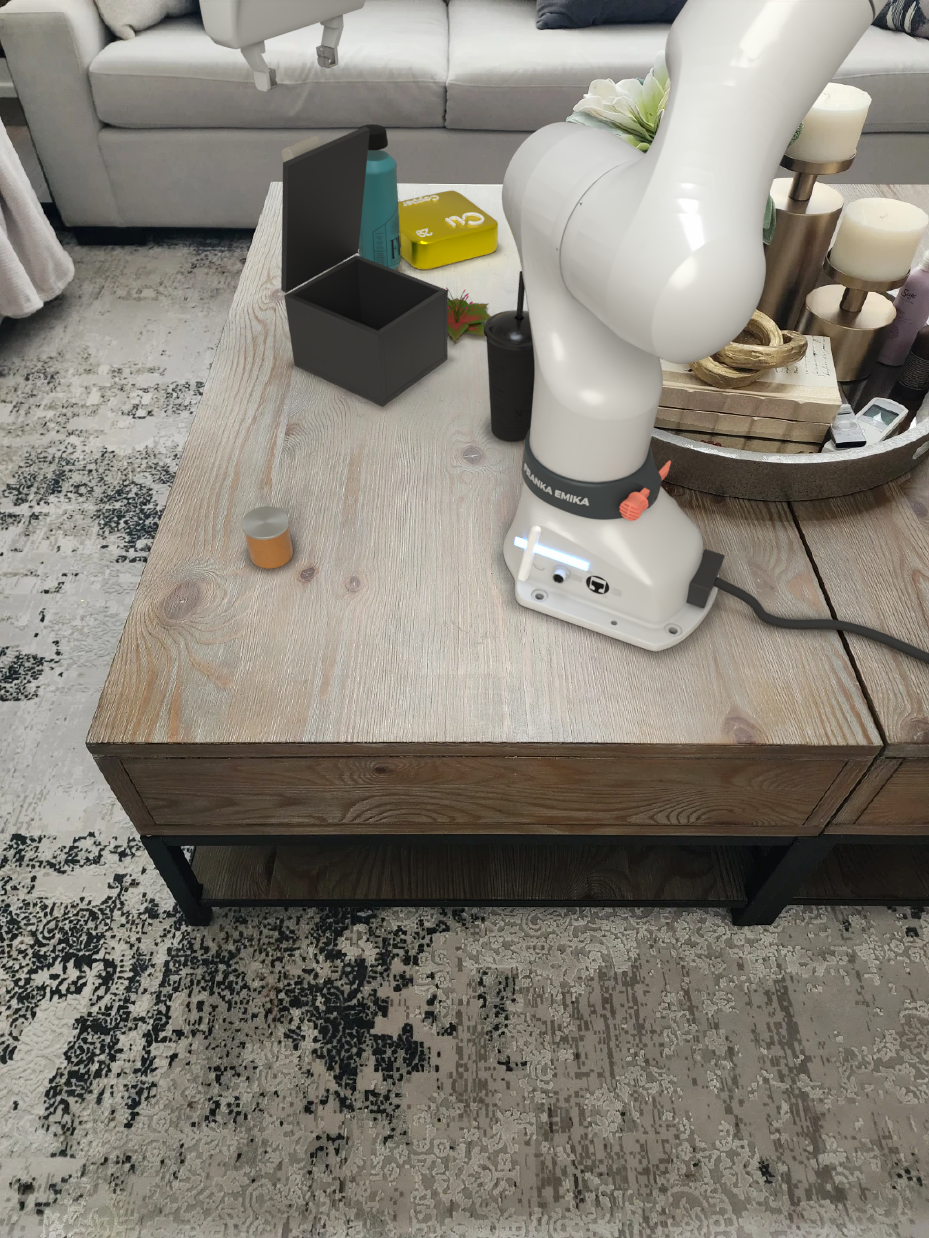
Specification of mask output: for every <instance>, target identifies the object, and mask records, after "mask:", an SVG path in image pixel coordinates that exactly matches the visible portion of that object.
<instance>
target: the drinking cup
mask: <svg viewBox="0 0 929 1238" xmlns="http://www.w3.org/2000/svg"><path fill="white" fill-rule="evenodd" d="M518 275H519V276H518V287H517V288H518V289H517V302H516V303H517V304H516V310H515V309H513V310H505V311H501V312H497V313H495V314H493V315H490V316H491V317H490V318H489V319H488V320H487V321H484V322H485V323H484V324H483V325H484V334H485V336H484V337H485V338H486V354H487V371H488V372H487V374H488V390H489V391H488V392H489V409H490V426H491V427H490V428H491V429H490V430H491V433H492V434H493V436H494V437H495V438H497V439H499V440H500V441H504V442H507V443H510V442H511V443H515V442H516V443H517V442H521V441H525V438H526V435H527V432H528V431H529V429H530V428H531V417H532V404H533V391H534V377H535V362H534V350H533V341H532V334H531V327H530V320H529V313H528V310H524V304H525V287H524V280H523V274H522V270H520V271H519V273H518Z"/></svg>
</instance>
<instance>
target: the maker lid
mask: <svg viewBox="0 0 929 1238" xmlns="http://www.w3.org/2000/svg"><path fill="white" fill-rule="evenodd" d="M359 128H360V127H359ZM359 128H358V129H356V130H354V131H351V132H350V133H347V134H344V135H342V136H340V137H337V138H335V139H332V140H331V141H329V142H326V143H323V141H322V139H321V138H320V137H319V136H318V135H312V136H310V137H308V138H305V139H303V140H301V141H298V142H296V143H294V144H292V145H289V146H287V147H285V148H283V149H282V151H281V157H282V160H283V162H282V201H281V202H282V204H281V205H282V206H281V212H282V213H281V272H280V273H281V274H280V275H281V277H280V280H281V281H280V285H281V286H280V290H281V292H282V293H284V294H288V293H290V292H291V291H293V290H295V289H297V288H298V287H300V286H302V285H304V284H306V283H307V281H309V280H310V279H312V278H314V277H316V276H318V275H319V274H321V273H323V272H325V271H326V270H328V269H330V268H332V267H334V266H335V265H337V264H339V263H341V262H342V261H343V262H345V261H346V260H348V259H350V258H352V257H354V256H355V255H357V254H358V253H359V239H360V228H361V218H362V207H363V197H364V186H365V176H366V165H367V155H368V144H369V134H370V129H368V128H367V127H363V128H360V129H359Z"/></svg>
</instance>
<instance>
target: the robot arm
mask: <svg viewBox="0 0 929 1238" xmlns="http://www.w3.org/2000/svg"><path fill="white" fill-rule="evenodd" d="M888 1H889V0H687V1H686V2H685V4H684V6H683V8H681V10H680V11H679V13H678V15H677V16H676V17H675V19H674V21H673V22H672V25H671V27H670V28H669V32H668V34H667V38H666V42H665V48H664V61H665V68H666V71H667V76H668V78H669V91H668V97H667V100H666V101H667V102H666V105H665V109H664V112H663V115H662V118H661V121H660V123H659V126H658V128H657V131H656V133H655V135H654V138H653V139H652V142H651V144H650V146H649V148H648V149H647V151H646V152H644V151H642V150H640V149H639V148H637V147H636V146H634V145H633V144H632V143H630V142H628V141H627V140H625V139H623V138H622V137H621V136H619V135H617V133H614V132H612V131H610V130H607V129H603V128H599V127H595V126H591V125H587V124H581V123H575V122H569V121H559V122H558V121H557V122H553V123H550V124H547V125H544V126H542V127H540V128H539V129H538V130H536V131H534V132H533V133H532V134H531V135H529V136H527V138H526V139H525V140H524V141H523V142H522V143H521V145H520V146H519V147H518V148H517V150H516V151H515V153H514V154H513V156H512V158H511V159H510V161H509V164H508V165H507V168H506V170H505V173H504V178H503V181H502V183H503V184H502V188H501V204H502V211H503V214H504V217H505V220H506V223H507V225H508V227H509V229H510V232H511V235H512V238H513V241H514V244H515V247H516V251H517V255H518V258H519V263H520V266H521V267H520V268H521V271H522V274H523V280H524V287H525V292H524V294H525V299H526V305H527V311H528V313H529V320H530V327H531V334H532V341H533V350H534V362H535V377H534V391H533V404H532V417H531V428H530V429H529V431H528V432H527V435H526V438H525V439H524V445H523V453H522V462H521V475H522V479H523V483H522V488H521V493H520V497H519V501H518V505H517V509H516V512H515V514H514V518H513V520H512V522H511V525H510V527H509V529H508V531H507V532H506V535H505V537H504V540H503V547H502V553H503V559H504V561H505V564H506V566H507V568H508V570H509V572H510V574H511V575H512V577H513V580H514V597H515V600H516V602H517V603H518V605H520V606H522V607H525V608H527V609H530V610H533V611H536V612H539V613H542V614H545V615H548V616H550V617H552V618H556V619H558V620H562V621H564V622H568V623H570V624H573V625H576V626H578V627H582V628H584V629H587V630H590V631H593V632H595V633H599V634H601V635H604V636H607V637H610V638H613V639H616V640H619V641H621V642H623V643H627V644H630V645H633V646H635V647H637V648H642V649H643V650H647V651H651V652H660V651H664V650H668V649H670V648H671V647H674V646H676V645H678V644H680V643H681V642H682V641H684V640H685V639H687V638H688V637H689V636H690V635H691V634H692V633H694V631H695V630H696V629H697V628H698V627H699V626H700V625H701V623H703V621H704V620H705V618H706V617H707V616H708V614H709V612H710V611H711V609H712V606H713V605H714V603H715V601H716V597H717V595H718V590H721V591H723V592H725V593H727V594H729V595H731V596H733V597H735V598H737V599H739V600H740V601H742V602H744V603H745V604H746V605H748V606H749V607H750V608H751V609H752V611H753V613H754V614H755V615H756V617H757V618H758V619H759V620H760V621H761V622H763V623H766V624H768V625H770V626H773V627H777V628H782V629H787V630H789V629H790V630H834V631H836V630H837V631H842V632H845V633H846V632H847V633H850V634H855V635H858V636H860V637H863V638H867V639H870V640H872V641H876V642H878V643H880V644H883V645H885V646H888V647H890V648H892V649H894V650H897V651H899V652H901V653H903V654H906V655H908V656H909V657H912V658H914V659H915V660H918V661H921V662H923V663H924V664H925V663H926V664H927V665H929V652H927V651H925V650H923V649H921V648H918V647H916V646H913V645H912V644H910V643H908V642H905V641H903V640H901V639H899V638H896V637H894V636H891V635H889V634H887V633H884V632H881V631H880V630H877V629H875V628H874V629H873V628H870V627H867V626H865V625H861V624H857V623H855V622H854V623H853V622H849V621H845V620H839V619H826V618H824V619H823V618H816V619H815V618H814V619H811V618H810V619H809V618H808V619H792V618H791V619H790V618H784V617H780V616H776V615H773V614H771V613H769V612H768V611H766V610H765V608H764V607H763V605H762V603H760V601H759V600H758V599H757V598H756V597H754V596H753V595H752V594H751V593H749V592H747V591H746V590H745V589H743V588H741V587H739V586H736V585H735V584H732V583H730V582H728V581H726V580H724V579H722V578H720V571H721V568H722V565H723V563H724V560H725V557H726V555H725V554H722V553H720V552H716V551H714V550H710V549H707V548H705V549H704V541H703V536H702V533H701V530H700V529H699V527H698V526H697V524H695V523H694V521H693V520H692V519H691V518H690V517H689V516H688V515H687V514H686V513H685V512H684V511H683V510H682V508H681V507H680V506H679V505H678V502H677V501H676V499H675V498H673V497H672V496H671V495H669V493H668V492H667V491H666V490H665V489H664V487H663V486H662V481H664V479H665V478H666V477H667V476H668V474H669V472H670V467H671V463H672V461H671V460H668V461H667V462H666V463H665V464H664V465H663V466H662V467H661V469H658V468H657V465H656V462H655V458H654V453H653V449H652V446H651V441H652V438H653V437H652V436H653V432H654V428H655V423H656V419H657V415H658V410H659V406H660V402H661V397H662V393H663V388H664V375H663V374H664V373H663V368H662V362H661V360H663V361H665V362H668V363H671V364H675V365H687V364H692V363H693V364H694V363H696V362H700V361H702V360H704V359H707V358H709V357H711V356H713V355H715V354H716V353H718V352H720V351H721V350H723V349H724V348H725V347H727V346H728V345H729V344H731V342H733V341H734V340H735V339H736V338H737V337H738V336H739V335H740V334H741V333H742V331H743V330H744V329H745V328H746V326H747V325H748V324H749V322H750V321H751V319H752V317H753V316H754V314H755V312H756V310H757V308H758V306H759V303H760V301H761V297H762V295H763V291H764V287H765V283H766V282H765V281H766V275H767V274H766V273H767V262H766V256H765V249H764V248H765V247H764V221H765V214H766V210H767V204H768V200H769V197H770V193H771V190H772V186H773V183H774V180H775V177H776V174H777V172H778V170H779V168H780V164H781V162H782V160H783V157H784V155H785V153H786V151H787V148H788V147H789V145H790V142H791V141H792V139H793V138H794V136H795V133H796V132H797V131H798V128H799V127H800V125H801V123H803V121H804V119H805V118H806V116H807V115H808V113H809V112H810V110H811V109H812V107H813V106H814V104H815V103H816V101H818V99H819V97H820V96H821V94H822V93H823V91H824V90H825V88H827V86H828V84H830V82H831V80H832V79H833V77H834V76H835V74H836V73H837V72H838V71H839V69H840V68H841V66H842V65H843V64H844V62H845V60H846V59H847V58H848V56H849V55H850V54H851V52H852V51H853V50H854V48H855V47H856V45H858V43H859V41H861V38H863V36H864V35H865V34H866V32H867V31H868V29H869V28H870V26H871V25H872V24H873V22H874V21H875V20H876V18H877V17H878V16H879V14H880V13H881V11H882V10H883V8H884V7H885V6H886V4H887V2H888ZM198 3H199V7H200V12H201V17H202V18H201V19H202V24H203V27H204V30H205V33H206V35H207V36H208V37H209V38H210V40H211V41H212V42H213V43H214V44H216V45H218V46H221V47H225V48H228V49H231V50H240V53H241V55H242V57H243V58H244V60H245V62H246V63H247V65H248V66H249V67H250V69H251V70H252V73H253V79H254V86H255V88H256V89H257V90H258V91H261V92H270V91H272V90H274V89H277V88H278V81H277V72H276V69H275V68H273V67H269V66H268V65H267V62H266V61H265V59H264V56H263V54H265V53H266V43H265V41H267V40H270V39H273V38H276V37H280V36H282V35H285V34H288V33H291V32H295V31H297V30H301V29H303V28H306V27H310V26H312V25H316V24H320V26H323V30H322V34H321V35H322V36H321V42H320V45H318V46H316V47H315V49H316V55H317V58H316V61H317V64H318V66H319V67H320V68H325V69H331V68H333V67H336V66H337V65H339V52H338V50H339V49H338V47H339V45H340V41H341V37H342V34H343V31H344V27H345V23H344V15H346V14H349V13H352V12H355V11H359V10H361V9H363V8H364V6H365V3H366V0H198Z"/></svg>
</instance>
